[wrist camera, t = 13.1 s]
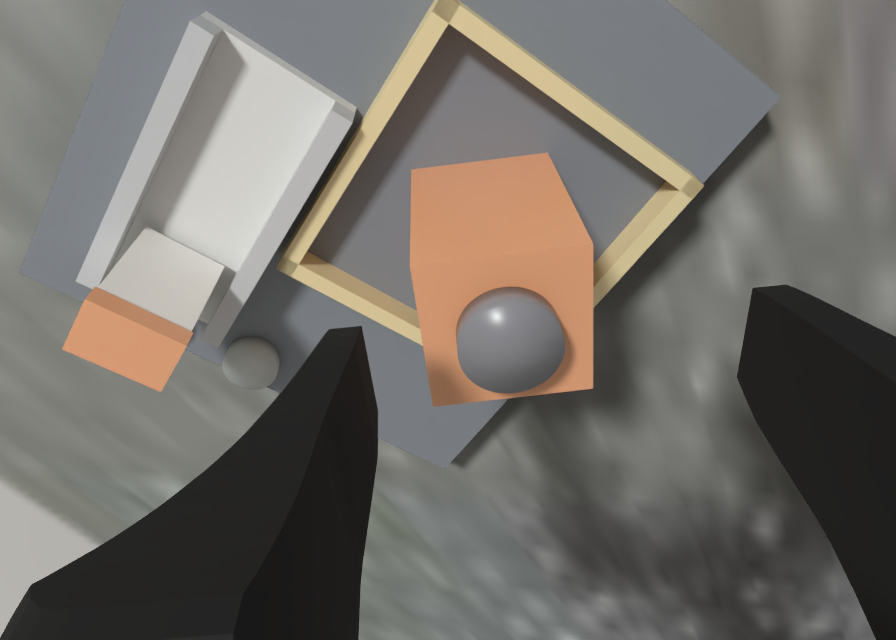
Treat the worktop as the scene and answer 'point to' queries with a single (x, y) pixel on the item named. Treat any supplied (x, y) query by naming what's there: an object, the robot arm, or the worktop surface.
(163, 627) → the robot arm
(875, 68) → the worktop surface
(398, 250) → the panel
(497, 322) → the cap
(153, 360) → the block
